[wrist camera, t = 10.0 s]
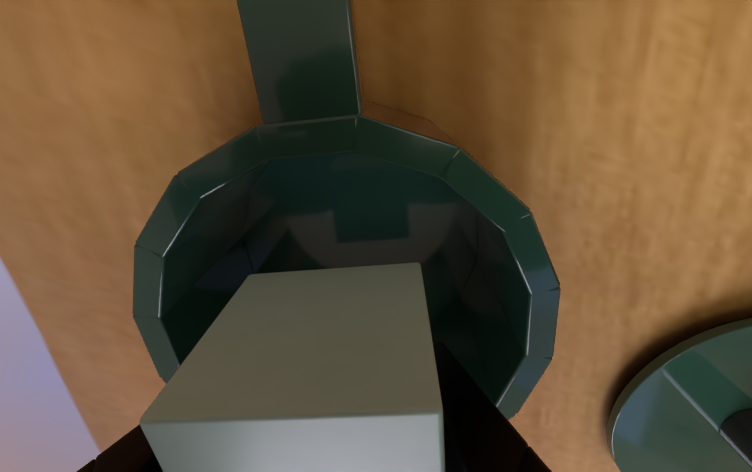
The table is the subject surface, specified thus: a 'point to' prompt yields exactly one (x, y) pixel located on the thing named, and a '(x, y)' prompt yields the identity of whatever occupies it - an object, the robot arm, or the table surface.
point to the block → (308, 379)
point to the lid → (689, 407)
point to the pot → (346, 211)
